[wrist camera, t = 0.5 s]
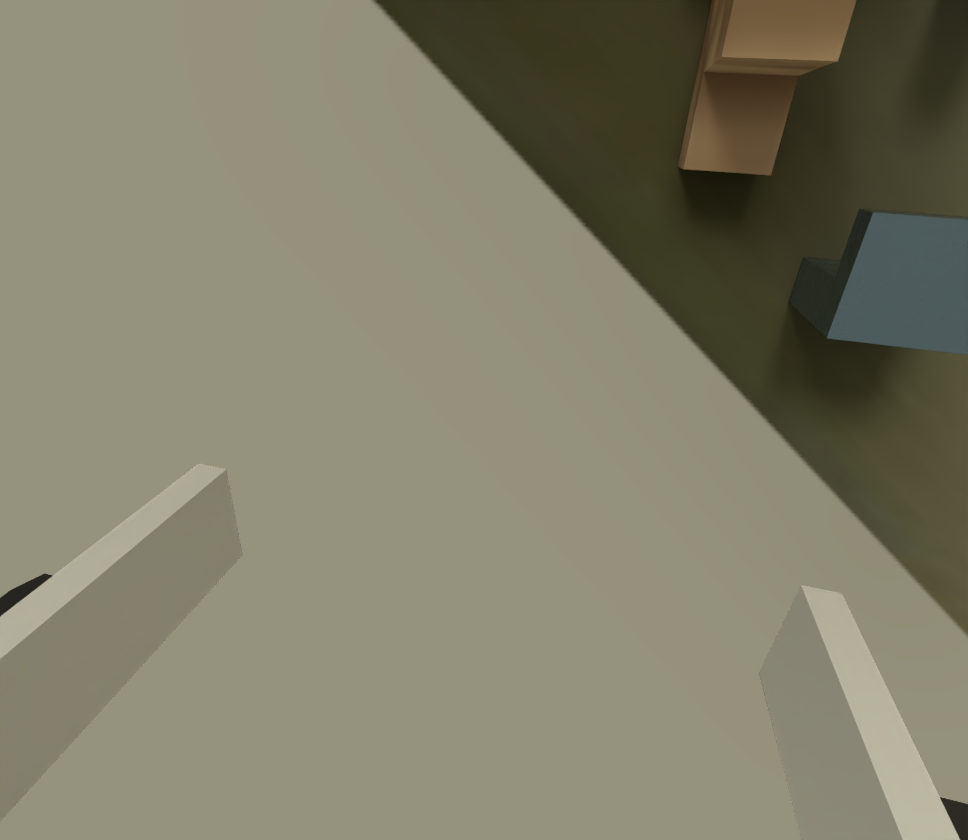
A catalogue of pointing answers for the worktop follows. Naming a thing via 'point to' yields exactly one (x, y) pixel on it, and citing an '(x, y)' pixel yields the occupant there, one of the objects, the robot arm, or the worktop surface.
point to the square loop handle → (755, 77)
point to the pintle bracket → (892, 283)
